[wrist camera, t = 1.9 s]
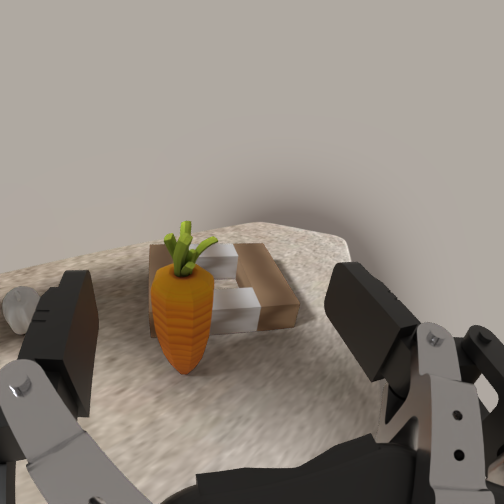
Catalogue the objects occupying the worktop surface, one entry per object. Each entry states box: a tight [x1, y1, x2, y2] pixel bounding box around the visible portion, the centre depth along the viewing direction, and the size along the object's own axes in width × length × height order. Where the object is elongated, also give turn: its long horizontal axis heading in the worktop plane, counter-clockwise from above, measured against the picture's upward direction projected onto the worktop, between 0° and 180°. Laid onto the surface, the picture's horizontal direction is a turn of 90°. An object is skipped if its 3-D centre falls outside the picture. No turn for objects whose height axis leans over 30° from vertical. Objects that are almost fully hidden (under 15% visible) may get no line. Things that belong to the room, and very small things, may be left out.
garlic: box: [2, 286, 40, 334], centre depth 27 cm, size 6×5×5 cm
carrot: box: [151, 221, 218, 375], centre depth 24 cm, size 5×5×15 cm
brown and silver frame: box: [149, 243, 300, 338], centre depth 38 cm, size 16×14×4 cm
